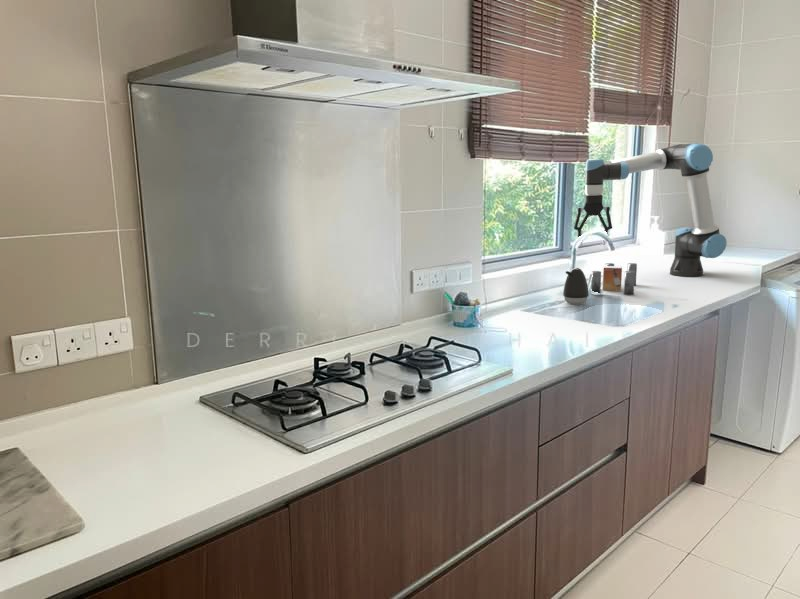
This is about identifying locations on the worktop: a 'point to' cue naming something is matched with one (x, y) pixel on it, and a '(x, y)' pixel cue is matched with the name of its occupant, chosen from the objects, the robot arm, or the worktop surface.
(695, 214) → the robot arm
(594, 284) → the spacer field
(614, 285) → the small box
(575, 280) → the pump dispenser
